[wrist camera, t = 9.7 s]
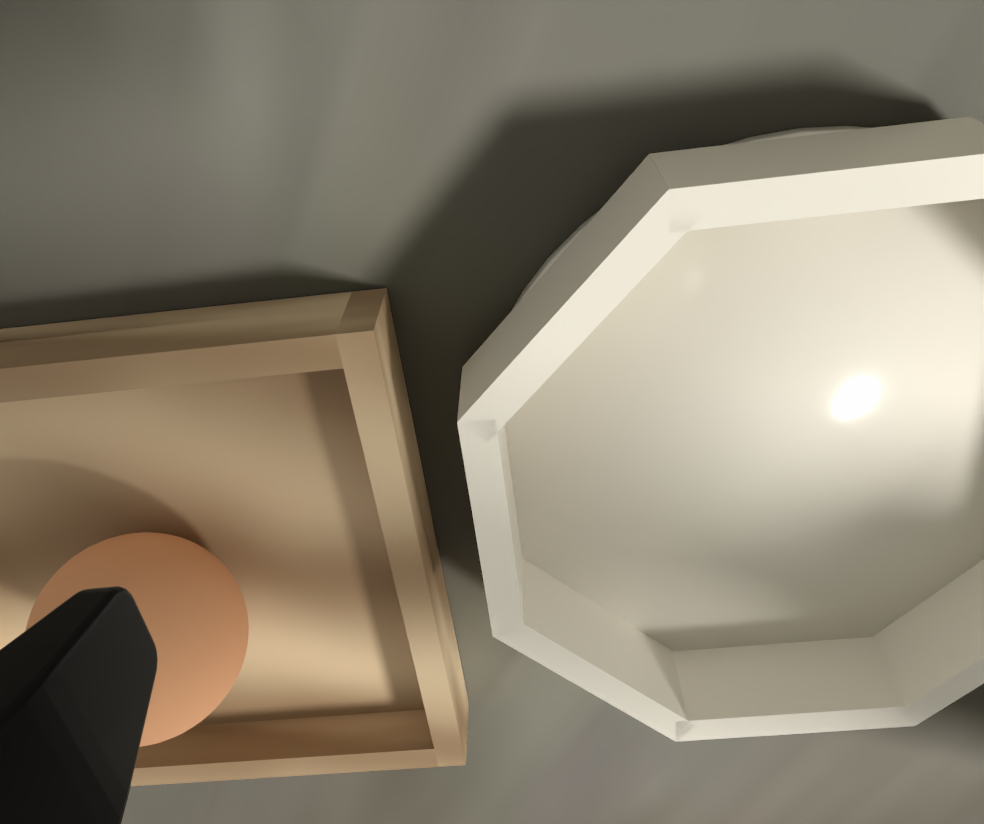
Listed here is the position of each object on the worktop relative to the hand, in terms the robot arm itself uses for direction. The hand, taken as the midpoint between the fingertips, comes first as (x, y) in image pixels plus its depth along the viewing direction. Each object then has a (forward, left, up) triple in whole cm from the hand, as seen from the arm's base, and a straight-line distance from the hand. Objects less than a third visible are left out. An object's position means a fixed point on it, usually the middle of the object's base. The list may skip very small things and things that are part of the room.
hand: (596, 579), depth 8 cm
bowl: (-7, -5, -12) cm, 15 cm away
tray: (-9, +11, -12) cm, 18 cm away
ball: (-9, +11, -11) cm, 18 cm away
